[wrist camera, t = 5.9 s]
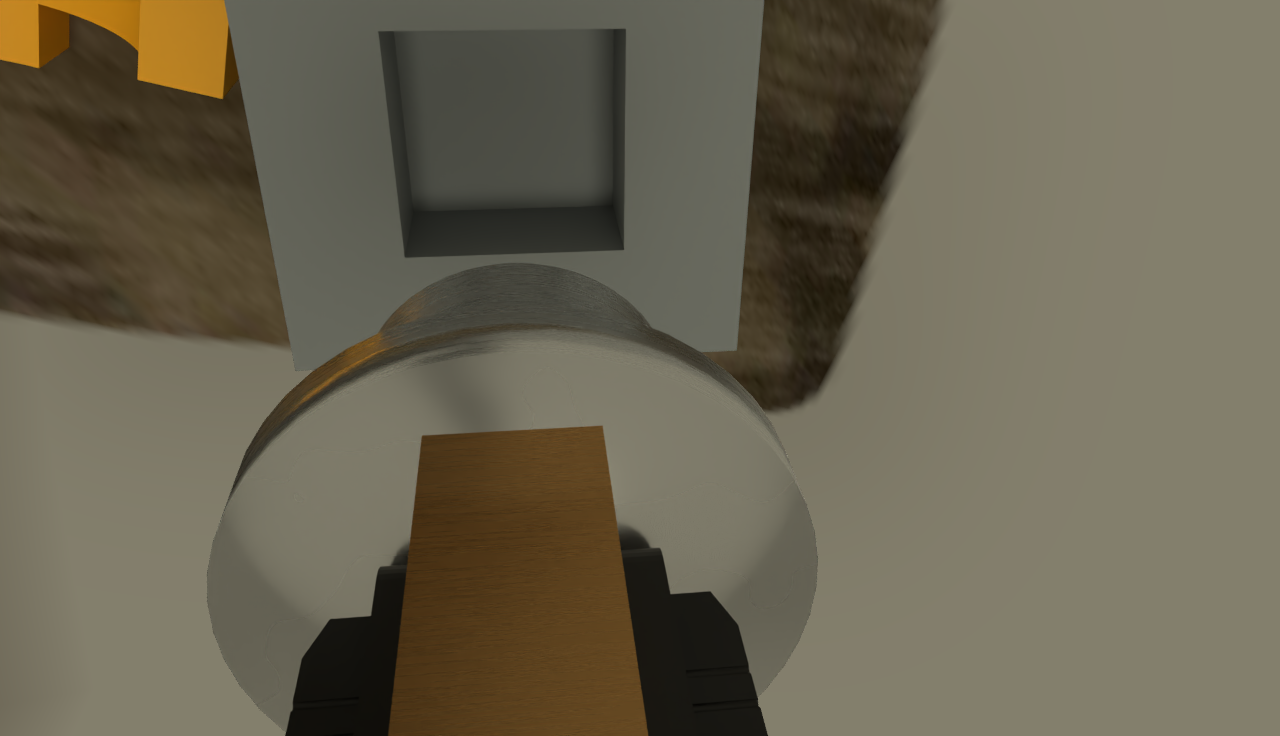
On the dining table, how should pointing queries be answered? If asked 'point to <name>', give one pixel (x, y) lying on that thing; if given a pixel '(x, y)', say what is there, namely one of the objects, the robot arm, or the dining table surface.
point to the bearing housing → (501, 152)
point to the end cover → (508, 508)
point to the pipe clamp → (132, 37)
